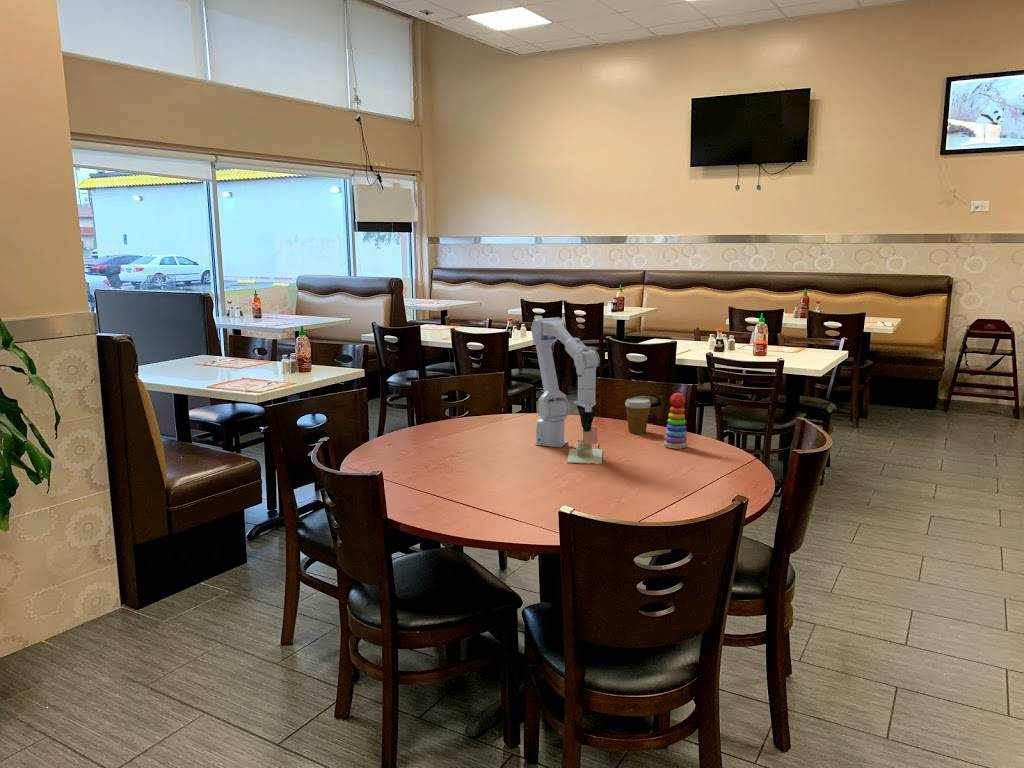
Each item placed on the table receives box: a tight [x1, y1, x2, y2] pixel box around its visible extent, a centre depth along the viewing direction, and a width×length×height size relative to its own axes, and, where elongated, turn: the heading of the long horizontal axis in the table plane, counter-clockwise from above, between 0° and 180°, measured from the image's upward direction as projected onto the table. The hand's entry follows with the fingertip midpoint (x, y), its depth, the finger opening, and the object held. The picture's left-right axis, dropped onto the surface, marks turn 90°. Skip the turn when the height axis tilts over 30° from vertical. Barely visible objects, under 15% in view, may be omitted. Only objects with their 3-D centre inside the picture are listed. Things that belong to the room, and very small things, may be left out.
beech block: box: [577, 439, 592, 457], centre depth 249 cm, size 4×4×4 cm
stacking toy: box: [663, 392, 688, 450], centre depth 260 cm, size 8×8×19 cm
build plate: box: [566, 448, 603, 465], centre depth 249 cm, size 11×16×1 cm
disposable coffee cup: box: [624, 397, 652, 435], centre depth 282 cm, size 10×10×12 cm
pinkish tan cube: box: [582, 426, 598, 444], centre depth 248 cm, size 4×4×4 cm
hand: (586, 429), depth 248 cm, fingers open, 5 cm apart
